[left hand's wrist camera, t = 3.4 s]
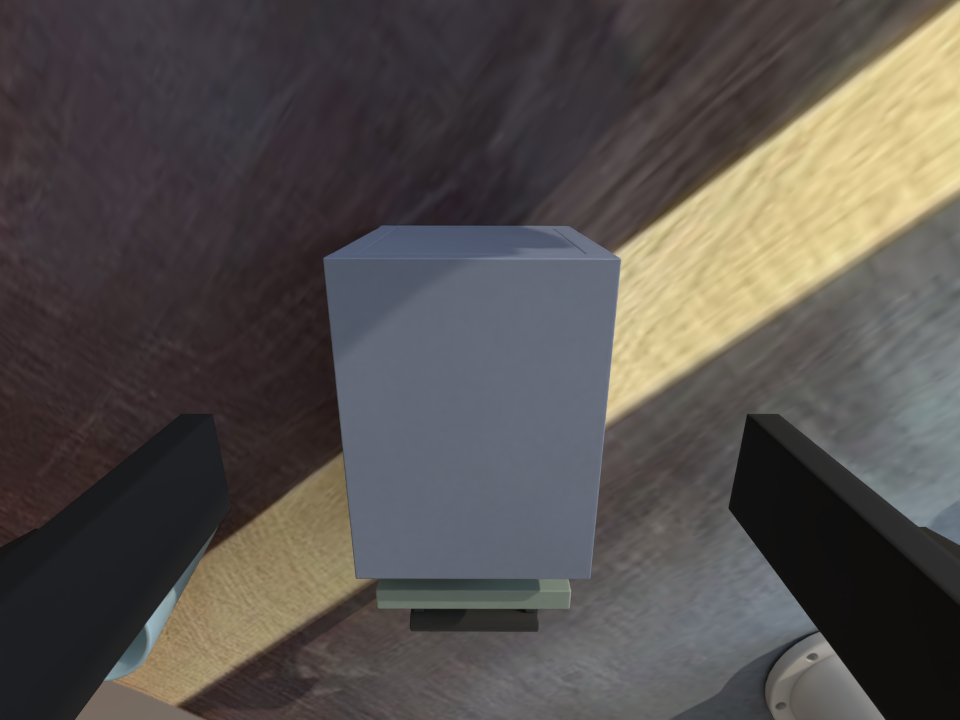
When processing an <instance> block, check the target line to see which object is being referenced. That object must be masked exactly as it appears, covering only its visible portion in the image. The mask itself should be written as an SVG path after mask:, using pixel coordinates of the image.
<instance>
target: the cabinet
mask: <svg viewBox="0 0 960 720" xmlns="http://www.w3.org/2000/svg"><path fill="white" fill-rule="evenodd" d="M323 263H324V273H325V283H326V292H327V302H328V312H329V322H330V331H331V341H332V351H333V360H334V370H335V380H336V390H337V399H338V409H339V419H340V428H341V438H342V448H343V457H344V467H345V477H346V487H347V496H348V506H349V516H350V525H351V535H352V545H353V555H354V564H355V574H356V578H357V579H590V574H591V564H592V554H593V544H594V533H595V523H596V513H597V503H598V492H599V482H600V472H601V461H602V451H603V441H604V431H605V420H606V410H607V400H608V390H609V379H610V369H611V359H612V348H613V338H614V328H615V318H616V307H617V297H618V287H619V277H620V266H621V259H620V258H619V257H617V256H615V255H614V254H612V253H611V252H609V251H607V250H606V249H604V248H603V247H601V246H599V245H598V244H596V243H594V242H593V241H591V240H590V239H588V238H586V237H585V236H583V235H582V234H580V233H578V232H577V231H575V230H574V229H572V228H571V227H570V226H380V227H379V228H378V229H376V230H374V231H372V232H370V233H369V234H367V235H365V236H363V237H361V238H359V239H358V240H356V241H354V242H352V243H350V244H349V245H347V246H345V247H343V248H341V249H339V250H338V251H336V252H334V253H332V254H330V255H328V256H326V257H324V258H323Z"/></svg>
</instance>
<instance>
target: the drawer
mask: <svg viewBox="0 0 960 720" xmlns="http://www.w3.org/2000/svg"><path fill="white" fill-rule="evenodd" d="M570 596H571V589H570V585H569V580H568V579H379V580H378V584H377V588H376V598H377V608H378V609H411V614H410V629H411V631H501V632H537V631H538V628H539V618H538V609H569V608H570Z"/></svg>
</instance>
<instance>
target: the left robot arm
mask: <svg viewBox="0 0 960 720" xmlns="http://www.w3.org/2000/svg"><path fill="white" fill-rule="evenodd" d="M230 510H231V503H230V498H229V493H228V488H227V483H226V478H225V473H224V468H223V463H222V458H221V453H220V448H219V443H218V438H217V433H216V428H215V423H214V418H213V414H181V415H180V416H179V417H177V418H176V419H175V420H174V421H172V422H171V423H170V424H169V425H167V426H166V427H165V428H164V429H162V430H161V431H160V432H159V433H158V434H156V435H155V436H154V437H153V438H151V439H150V440H149V441H148V442H146V443H145V444H144V445H143V446H141V447H140V448H139V449H138V450H136V451H135V452H134V453H133V454H131V455H130V456H129V457H128V458H127V459H125V460H124V461H123V462H122V463H120V464H119V465H118V466H117V467H115V468H114V469H113V470H112V471H110V472H109V473H108V474H107V475H105V476H104V477H103V478H102V479H101V480H99V481H98V482H97V483H96V484H94V485H93V486H92V487H91V488H89V489H88V490H87V491H86V492H84V493H83V494H82V495H81V496H79V497H78V498H77V499H76V500H74V501H73V502H72V503H71V504H70V505H68V506H67V507H66V508H65V509H63V510H62V511H61V512H60V513H58V514H57V515H56V516H55V517H53V518H52V519H51V520H50V521H48V522H47V523H46V524H45V525H44V526H42V527H41V528H40V529H34V530H32V531H30V532H29V533H27V534H25V535H23V536H21V537H19V538H17V539H15V540H14V541H12V542H10V543H8V544H6V545H4V546H2V547H1V548H0V720H75V719H76V717H77V716H78V715H79V713H80V712H81V711H82V709H83V708H84V707H85V705H86V704H87V703H88V701H89V700H90V698H91V697H92V696H93V694H94V693H95V692H96V690H97V689H98V688H99V686H100V685H101V683H102V682H103V681H104V680H105V678H106V677H107V676H108V674H109V673H110V672H111V670H112V669H113V667H114V666H115V665H116V663H117V662H118V661H119V659H120V658H121V657H122V655H123V654H124V653H125V651H126V650H127V649H128V647H129V646H130V645H131V643H132V642H133V640H134V639H135V638H136V636H137V635H138V634H139V632H140V631H141V630H142V628H143V627H144V626H145V624H146V623H147V622H148V620H149V619H150V618H151V616H152V615H153V614H154V612H155V611H156V609H157V608H158V607H159V605H160V604H161V603H162V601H163V600H164V599H165V597H166V596H167V595H168V593H169V592H170V591H171V589H172V588H173V587H174V585H175V584H176V583H177V581H178V580H179V578H180V577H181V576H182V574H183V573H184V572H185V570H186V569H187V568H188V566H189V565H190V564H191V562H192V561H193V560H194V558H195V557H196V556H197V554H198V553H199V551H200V550H201V549H202V547H203V546H204V545H205V543H206V542H207V541H208V539H209V538H210V537H211V535H212V534H213V533H214V531H215V530H216V529H217V527H218V526H219V525H220V523H221V522H222V520H223V519H224V518H225V516H226V515H227V514H228V512H229V511H230ZM729 510H730V511H731V512H732V514H733V515H734V516H735V518H736V519H737V520H738V522H739V523H740V525H741V526H742V527H743V529H744V530H745V531H746V533H747V534H748V535H749V537H750V538H751V539H752V541H753V542H754V543H755V545H756V546H757V547H758V549H759V550H760V551H761V553H762V554H763V556H764V557H765V558H766V560H767V561H768V562H769V564H770V565H771V566H772V568H773V569H774V570H775V572H776V573H777V574H778V576H779V577H780V578H781V580H782V581H783V583H784V584H785V585H786V587H787V588H788V589H789V591H790V592H791V593H792V595H793V596H794V597H795V599H796V600H797V601H798V603H799V604H800V605H801V607H802V608H803V609H804V611H805V612H806V614H807V615H808V616H809V618H810V619H811V620H812V622H813V623H814V624H815V626H816V627H817V628H818V630H819V631H820V632H821V634H822V635H823V636H824V638H825V639H826V641H827V642H828V643H829V645H830V646H831V647H832V649H833V650H834V651H835V653H836V654H837V655H838V657H839V658H840V659H841V661H842V662H843V663H844V665H845V666H846V667H847V669H848V670H849V672H850V673H851V674H852V676H853V677H854V678H855V680H856V681H857V682H858V684H859V685H860V686H861V688H862V689H863V690H864V692H865V693H866V694H867V696H868V697H869V698H870V700H871V701H872V703H873V704H874V705H875V707H876V708H877V709H878V711H879V712H880V713H881V715H882V716H883V717H884V719H885V720H960V545H958V544H956V543H954V542H952V541H951V540H949V539H947V538H945V537H943V536H941V535H939V534H937V533H936V532H934V531H932V530H930V529H928V528H926V527H918V526H916V525H915V524H914V523H913V522H912V521H910V520H909V519H908V518H907V517H905V516H904V515H903V514H902V513H900V512H899V511H898V510H897V509H895V508H894V507H893V506H892V505H890V504H889V503H888V502H887V501H886V500H884V499H883V498H882V497H881V496H879V495H878V494H877V493H876V492H874V491H873V490H872V489H871V488H869V487H868V486H867V485H866V484H864V483H863V482H862V481H861V480H859V479H858V478H857V477H856V476H855V475H853V474H852V473H851V472H850V471H848V470H847V469H846V468H845V467H843V466H842V465H841V464H840V463H838V462H837V461H836V460H835V459H833V458H832V457H831V456H830V455H829V454H827V453H826V452H825V451H824V450H822V449H821V448H820V447H819V446H817V445H816V444H815V443H814V442H812V441H811V440H810V439H809V438H807V437H806V436H805V435H804V434H802V433H801V432H800V431H799V430H798V429H796V428H795V427H794V426H793V425H791V424H790V423H789V422H788V421H786V420H785V419H784V418H783V417H781V416H780V415H779V414H747V418H746V423H745V428H744V433H743V438H742V443H741V448H740V453H739V458H738V463H737V468H736V473H735V478H734V483H733V488H732V493H731V498H730V503H729Z"/></svg>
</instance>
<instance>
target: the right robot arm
mask: <svg viewBox="0 0 960 720" xmlns="http://www.w3.org/2000/svg"><path fill="white" fill-rule="evenodd" d="M765 698H766V703H767V706H768V708H769V710H770V712H771V714H772V716H773V718H774V719H775V720H885V719H884V717H883V716H882V715H881V713H880V712H879V711H878V709H877V708H876V707H875V705H874V704H873V703H872V701H871V700H870V698H869V697H868V696H867V694H866V693H865V692H864V690H863V689H862V688H861V686H860V685H859V684H858V682H857V681H856V680H855V678H854V677H853V676H852V674H851V673H850V672H849V670H848V669H847V667H846V666H845V665H844V663H843V662H842V661H841V659H840V658H839V657H838V655H837V654H836V653H835V651H834V650H833V649H832V647H831V646H830V645H829V643H828V642H827V641H826V639H825V638H824V636H823V635H822V634H821V632H818V633H815V634H813V635H810V636H808V637H807V638H805V639H803V640H802V641H800V642H798V643H796V644H795V645H794V646H793V647H791V648H790V649H789V650H788V651H786V652H785V653H784V654H783V655H782V656H781V658H780V659H779V660H778V661H777V662H776V663H775V665H774V667H773V668H772V670H771V672H770V673H769V676H768V679H767V682H766V686H765Z"/></svg>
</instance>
